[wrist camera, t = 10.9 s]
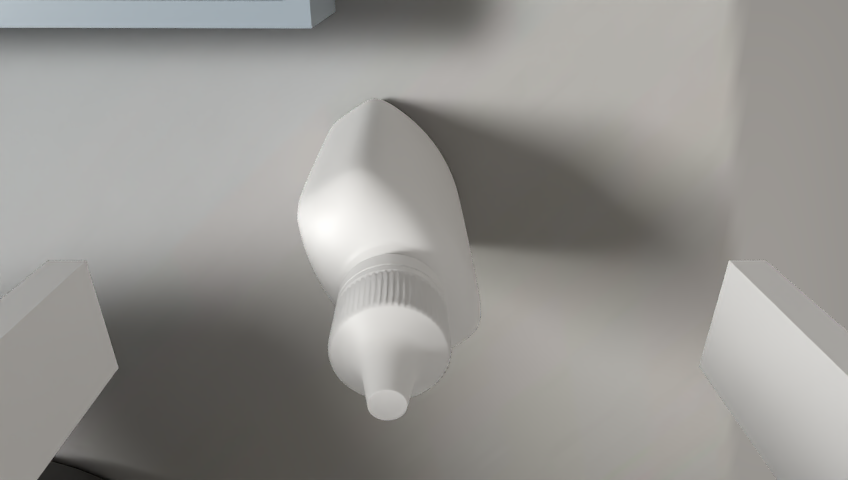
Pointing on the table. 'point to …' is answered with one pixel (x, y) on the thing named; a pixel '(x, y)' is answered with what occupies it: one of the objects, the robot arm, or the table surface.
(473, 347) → the table surface
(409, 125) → the eye dropper bottle
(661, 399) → the table surface
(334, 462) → the table surface
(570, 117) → the table surface
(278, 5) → the tray
